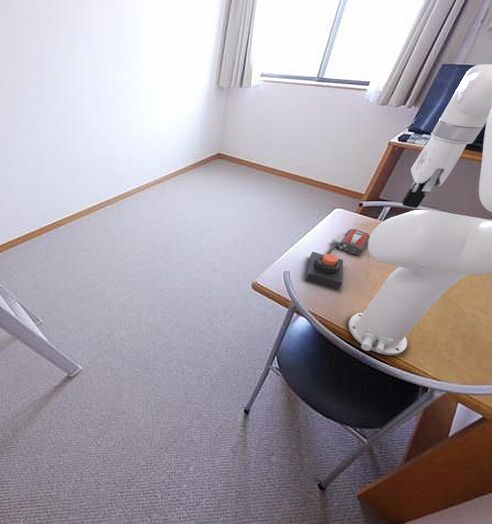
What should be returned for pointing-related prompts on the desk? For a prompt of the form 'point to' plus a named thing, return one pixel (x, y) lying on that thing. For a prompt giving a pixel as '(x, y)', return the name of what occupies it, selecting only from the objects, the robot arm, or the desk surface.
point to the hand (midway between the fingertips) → (409, 205)
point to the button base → (324, 272)
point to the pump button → (329, 259)
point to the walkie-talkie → (350, 242)
